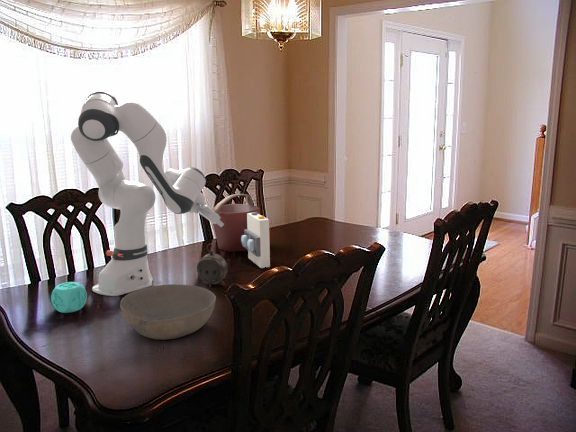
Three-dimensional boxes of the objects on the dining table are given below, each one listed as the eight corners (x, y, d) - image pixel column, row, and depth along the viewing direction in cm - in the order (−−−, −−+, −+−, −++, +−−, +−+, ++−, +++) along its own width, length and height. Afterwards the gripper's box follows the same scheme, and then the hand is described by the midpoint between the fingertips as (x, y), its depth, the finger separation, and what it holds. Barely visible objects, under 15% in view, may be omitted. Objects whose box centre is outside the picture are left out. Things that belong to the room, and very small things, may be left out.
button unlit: (245, 248, 220) (244, 236, 219) (241, 245, 225) (241, 234, 224) (249, 247, 221) (248, 236, 220) (245, 244, 226) (245, 233, 225)
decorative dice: (69, 314, 169) (66, 291, 168) (52, 310, 173) (49, 287, 171) (88, 306, 176) (86, 283, 175) (71, 302, 180) (69, 280, 178)
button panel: (257, 268, 214) (256, 219, 210) (245, 258, 228) (243, 211, 224) (270, 266, 216) (268, 217, 212) (256, 256, 230) (255, 210, 226)
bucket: (247, 238, 263) (245, 189, 258) (272, 247, 246) (270, 194, 240) (203, 246, 249) (200, 194, 244) (226, 256, 231) (224, 201, 226)
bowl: (106, 329, 158) (103, 298, 156) (184, 304, 176) (182, 276, 174) (154, 360, 138) (151, 324, 136) (235, 328, 157) (234, 297, 155)
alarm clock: (228, 284, 196) (227, 242, 192) (223, 289, 191) (221, 246, 187) (202, 282, 199) (199, 240, 195) (195, 286, 193) (193, 244, 190)
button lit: (251, 252, 213) (251, 241, 212) (247, 249, 218) (247, 238, 217) (255, 252, 214) (255, 240, 213) (251, 249, 218) (251, 237, 217)
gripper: (206, 200, 193) (232, 223, 199) (194, 191, 212) (218, 213, 218) (195, 212, 193) (222, 235, 199) (183, 203, 211) (208, 224, 217)
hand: (220, 223), depth 208 cm, fingers open, 5 cm apart
